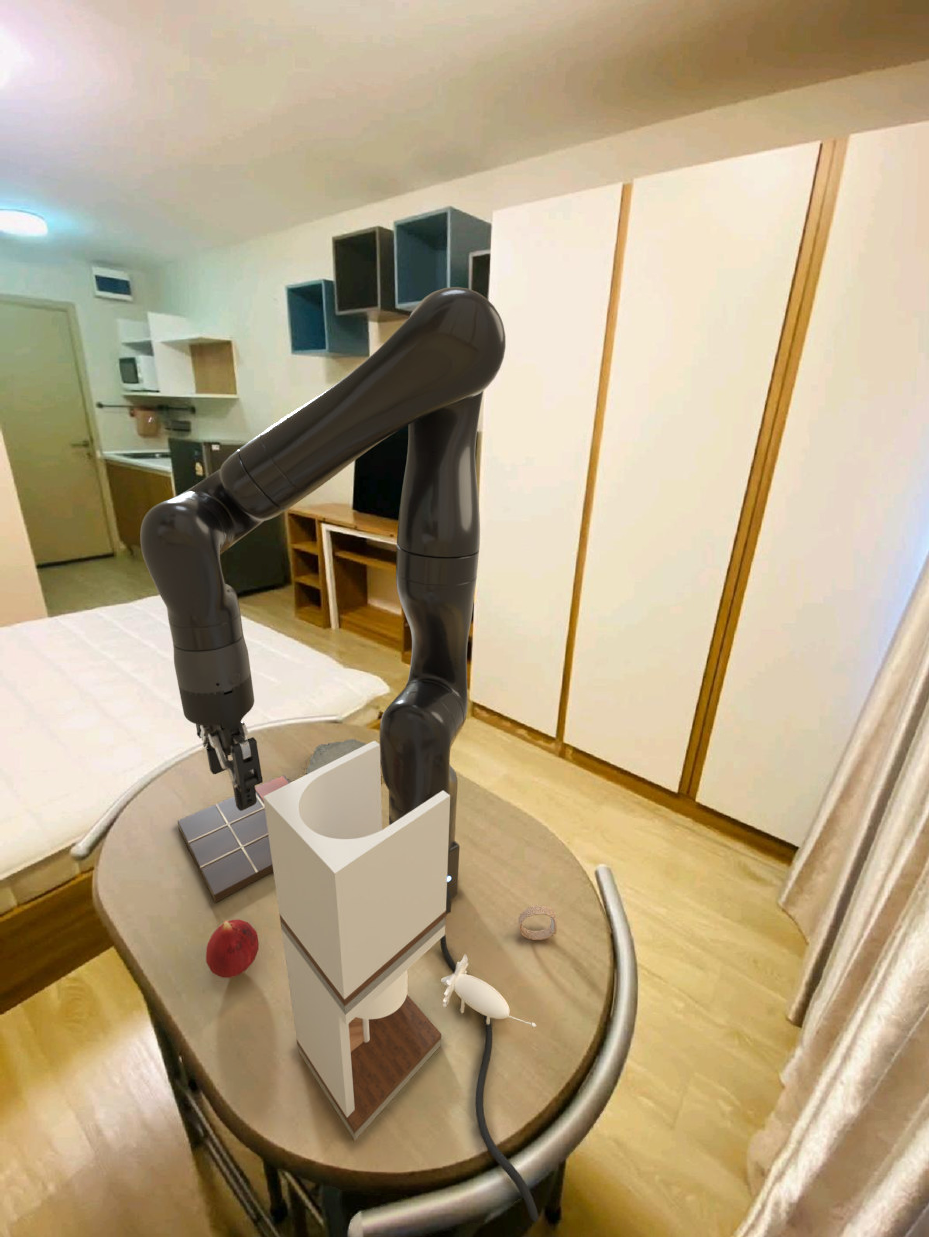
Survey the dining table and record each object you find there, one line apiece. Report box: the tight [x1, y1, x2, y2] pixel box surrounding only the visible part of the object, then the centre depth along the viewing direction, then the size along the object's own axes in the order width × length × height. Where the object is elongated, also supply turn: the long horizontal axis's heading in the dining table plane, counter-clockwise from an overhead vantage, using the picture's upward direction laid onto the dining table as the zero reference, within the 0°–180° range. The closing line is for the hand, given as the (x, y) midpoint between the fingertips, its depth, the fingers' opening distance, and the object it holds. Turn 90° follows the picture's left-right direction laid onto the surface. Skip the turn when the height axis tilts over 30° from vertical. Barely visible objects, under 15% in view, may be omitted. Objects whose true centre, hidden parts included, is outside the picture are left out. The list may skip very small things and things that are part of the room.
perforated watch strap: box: [518, 905, 557, 941], centre depth 69 cm, size 3×5×5 cm, turn 91°
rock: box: [305, 738, 381, 775], centre depth 99 cm, size 12×16×5 cm
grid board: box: [176, 774, 291, 903], centre depth 84 cm, size 18×18×2 cm
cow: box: [440, 953, 537, 1028], centre depth 60 cm, size 12×5×5 cm, turn 59°
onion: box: [205, 919, 260, 979], centre depth 63 cm, size 6×6×8 cm
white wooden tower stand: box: [263, 740, 450, 1141], centre depth 50 cm, size 11×11×35 cm
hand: (233, 787), depth 65 cm, fingers open, 8 cm apart
